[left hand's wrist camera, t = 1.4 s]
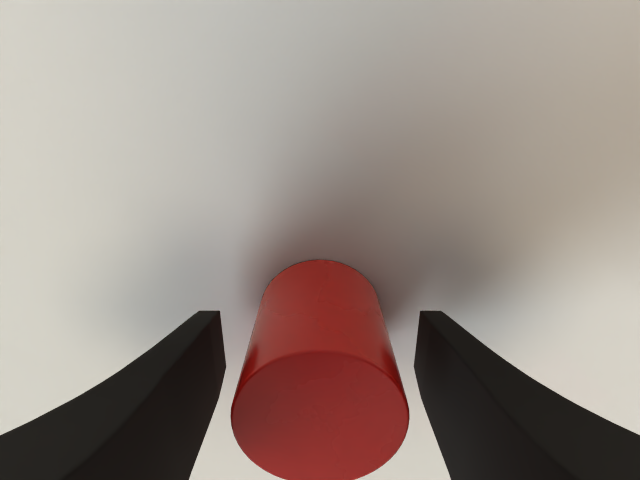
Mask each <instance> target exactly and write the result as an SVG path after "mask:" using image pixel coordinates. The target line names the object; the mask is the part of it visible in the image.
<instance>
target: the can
mask: <svg viewBox="0 0 640 480" xmlns="http://www.w3.org/2000/svg"><path fill="white" fill-rule="evenodd" d="M408 425H409V407H408V403H407V399H406V395H405V392H404V388H403V385H402V381H401V377H400V374H399V370H398V367H397V363H396V360H395V356H394V353H393V349H392V346H391V342H390V339H389V335H388V332H387V328H386V324H385V321H384V317H383V314H382V310H381V307H380V303H379V300H378V297H377V294H376V292H375V290H374V288H373V287H372V285H371V284H370V282H369V281H368V280H367V279H366V278H365V277H364V276H363V275H362V274H361V273H359V272H358V271H356V270H355V269H353V268H351V267H349V266H347V265H344V264H342V263H339V262H335V261H329V260H311V261H305V262H301V263H298V264H295V265H293V266H291V267H289V268H287V269H285V270H284V271H282V272H281V273H279V274H278V275H277V276H276V277H275V278H274V279H273V280H272V281H271V282H270V284H269V285H268V287H267V288H266V290H265V292H264V294H263V297H262V300H261V303H260V307H259V311H258V314H257V318H256V321H255V325H254V328H253V332H252V335H251V339H250V342H249V346H248V349H247V353H246V356H245V360H244V364H243V367H242V371H241V374H240V378H239V381H238V385H237V388H236V392H235V395H234V399H233V403H232V407H231V426H232V429H233V433H234V436H235V438H236V441H237V443H238V445H239V446H240V448H241V449H242V451H243V452H244V453H245V454H246V455H247V457H248V458H249V459H250V460H252V461H253V462H254V463H255V464H256V465H258V466H259V467H260V468H262V469H263V470H265V471H267V472H269V473H271V474H273V475H275V476H277V477H280V478H282V479H285V480H355V479H358V478H360V477H363V476H365V475H367V474H369V473H371V472H373V471H375V470H376V469H378V468H380V467H381V466H383V465H384V464H385V463H386V462H387V461H389V460H390V459H391V458H392V456H393V455H394V454H395V453H396V452H397V451H398V449H399V448H400V446H401V445H402V443H403V441H404V439H405V436H406V433H407V430H408Z"/></svg>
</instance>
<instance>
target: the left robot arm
mask: <svg viewBox="0 0 640 480" xmlns="http://www.w3.org/2000/svg"><path fill="white" fill-rule="evenodd" d="M225 369H226V361H225V353H224V344H223V335H222V326H221V318H220V311H198V312H197V313H196V314H194V315H193V316H192V317H190V318H189V319H188V320H187V321H185V322H184V323H183V324H182V325H180V326H179V327H178V328H177V329H175V330H174V331H173V332H172V333H170V334H169V335H168V336H166V337H165V338H164V339H163V340H161V341H160V342H159V343H157V344H156V345H155V346H154V347H152V348H151V349H150V350H148V351H147V352H145V353H144V354H143V355H141V356H140V357H138V358H137V359H136V360H134V361H133V362H131V363H130V364H129V365H127V366H126V367H124V368H123V369H122V370H120V371H119V372H117V373H116V374H114V375H113V376H111V377H109V378H108V379H106V380H105V381H103V382H102V383H100V384H98V385H97V386H95V387H93V388H91V389H90V390H88V391H86V392H85V393H83V394H81V395H80V396H78V397H76V398H74V399H73V400H71V401H69V402H67V403H65V404H63V405H61V406H59V407H57V408H55V409H53V410H51V411H50V412H48V413H46V414H44V415H42V416H40V417H38V418H36V419H34V420H32V421H30V422H28V423H26V424H24V425H22V426H20V427H17V428H15V429H13V430H11V431H9V432H7V433H5V434H2V435H0V480H189V477H190V474H191V471H192V469H193V466H194V463H195V461H196V458H197V455H198V453H199V450H200V447H201V445H202V442H203V439H204V437H205V434H206V431H207V429H208V426H209V423H210V421H211V418H212V415H213V413H214V410H215V407H216V404H217V402H218V399H219V395H220V391H221V387H222V383H223V378H224V374H225ZM414 369H415V374H416V378H417V383H418V387H419V391H420V395H421V399H422V402H423V404H424V407H425V410H426V413H427V415H428V418H429V421H430V424H431V426H432V429H433V432H434V434H435V437H436V440H437V442H438V445H439V448H440V450H441V453H442V456H443V458H444V461H445V464H446V466H447V469H448V472H449V475H450V478H451V480H640V435H638V434H636V433H634V432H632V431H629V430H627V429H625V428H623V427H621V426H619V425H616V424H614V423H612V422H610V421H608V420H606V419H604V418H602V417H600V416H598V415H596V414H594V413H592V412H590V411H589V410H587V409H585V408H583V407H581V406H579V405H577V404H575V403H573V402H571V401H570V400H568V399H566V398H564V397H562V396H561V395H559V394H557V393H556V392H554V391H552V390H551V389H549V388H547V387H546V386H544V385H542V384H540V383H539V382H537V381H536V380H534V379H532V378H531V377H529V376H528V375H526V374H525V373H523V372H522V371H520V370H519V369H517V368H516V367H514V366H513V365H512V364H510V363H509V362H507V361H506V360H504V359H503V358H502V357H500V356H499V355H497V354H496V353H495V352H493V351H492V350H491V349H489V348H488V347H487V346H485V345H484V344H483V343H481V342H480V341H479V340H478V339H476V338H475V337H474V336H472V335H471V334H470V333H469V332H467V331H466V330H465V329H464V328H462V327H461V326H460V325H459V324H457V323H456V322H455V321H454V320H452V319H451V318H450V317H449V316H447V315H446V314H445V313H443V312H442V311H420V317H419V326H418V335H417V343H416V352H415V361H414Z"/></svg>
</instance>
